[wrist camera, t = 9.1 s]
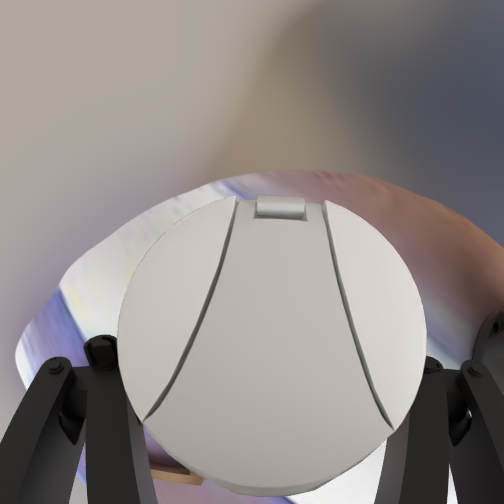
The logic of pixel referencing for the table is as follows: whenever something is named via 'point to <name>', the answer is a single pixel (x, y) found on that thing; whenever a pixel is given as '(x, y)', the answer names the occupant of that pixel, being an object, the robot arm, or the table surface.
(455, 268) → the table surface
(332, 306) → the paper cup
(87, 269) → the table surface
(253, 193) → the table surface
